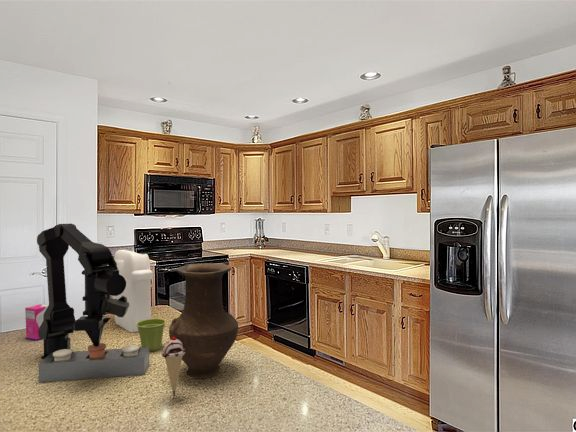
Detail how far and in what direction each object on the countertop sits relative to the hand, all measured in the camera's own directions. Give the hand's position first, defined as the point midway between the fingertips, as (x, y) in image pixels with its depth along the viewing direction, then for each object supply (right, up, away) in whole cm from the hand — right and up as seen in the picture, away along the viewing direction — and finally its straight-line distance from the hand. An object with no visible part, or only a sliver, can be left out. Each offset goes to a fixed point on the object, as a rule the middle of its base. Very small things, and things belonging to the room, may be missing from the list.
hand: (96, 346), depth 110 cm
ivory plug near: (-9, -7, -2) cm, 12 cm away
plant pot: (+9, -7, +19) cm, 22 cm away
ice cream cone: (+26, -8, -14) cm, 31 cm away
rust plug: (0, -6, 0) cm, 6 cm away
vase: (+30, -8, +1) cm, 31 cm away
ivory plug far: (+9, -7, +2) cm, 12 cm away
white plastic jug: (-9, -7, +43) cm, 45 cm away
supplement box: (-36, -7, +30) cm, 47 cm away
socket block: (0, -8, 0) cm, 8 cm away
